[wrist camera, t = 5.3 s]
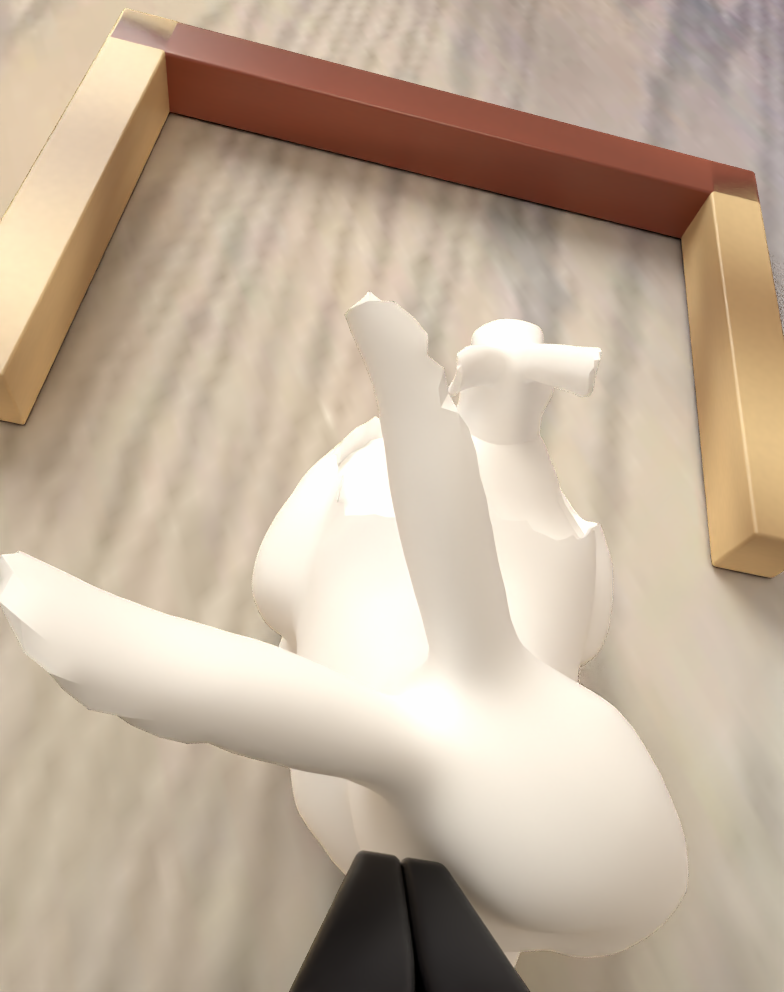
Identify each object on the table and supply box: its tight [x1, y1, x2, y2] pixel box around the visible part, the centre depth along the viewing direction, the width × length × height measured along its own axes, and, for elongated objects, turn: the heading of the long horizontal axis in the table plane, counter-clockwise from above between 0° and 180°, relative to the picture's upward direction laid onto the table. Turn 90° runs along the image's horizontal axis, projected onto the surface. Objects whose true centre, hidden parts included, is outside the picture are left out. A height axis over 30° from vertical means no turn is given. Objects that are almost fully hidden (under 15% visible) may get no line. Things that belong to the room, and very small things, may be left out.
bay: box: [0, 8, 784, 578], centre depth 20 cm, size 13×19×2 cm
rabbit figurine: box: [0, 291, 689, 969], centre depth 11 cm, size 12×8×10 cm, turn 171°
